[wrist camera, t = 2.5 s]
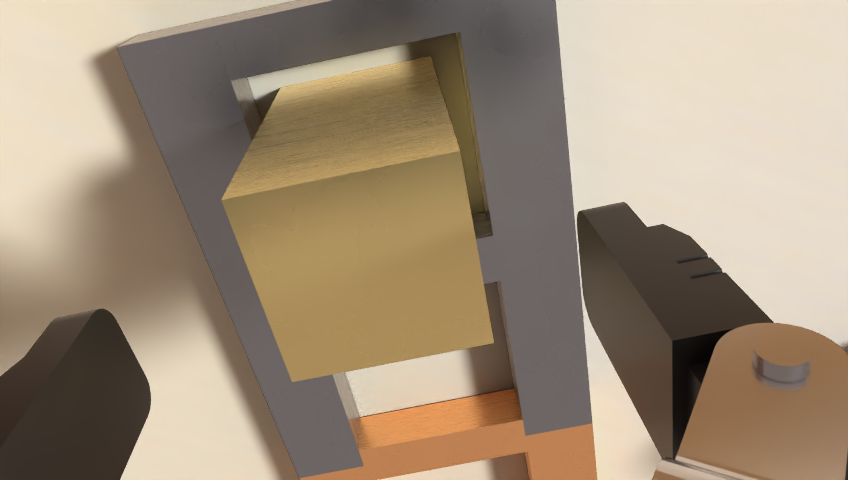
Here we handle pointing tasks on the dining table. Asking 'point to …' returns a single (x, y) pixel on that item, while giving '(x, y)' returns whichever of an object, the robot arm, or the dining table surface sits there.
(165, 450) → the dining table surface
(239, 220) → the yellow wooden block
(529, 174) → the rail
